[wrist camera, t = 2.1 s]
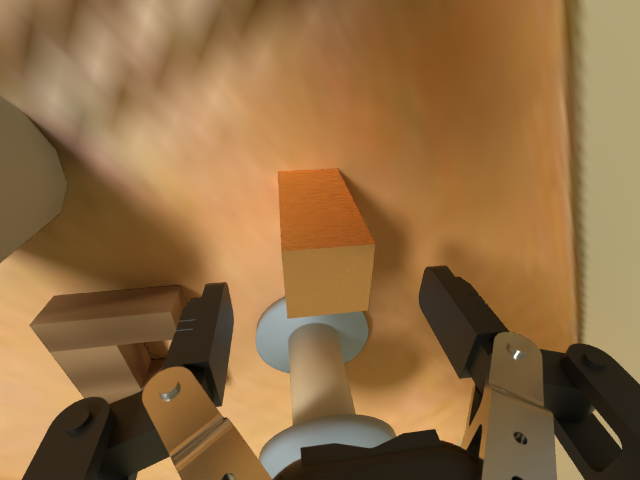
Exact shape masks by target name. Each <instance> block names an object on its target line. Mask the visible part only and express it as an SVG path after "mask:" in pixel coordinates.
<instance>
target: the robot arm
mask: <svg viewBox="0 0 640 480" xmlns="http://www.w3.org/2000/svg"><path fill="white" fill-rule="evenodd" d="M419 304H420V308H421V310H422V312H423V314H424V316H425V317H426V319H427V321H428V323H429V325H430V326H431V328H432V330H433V332H434V334H435V335H436V337H437V339H438V341H439V343H440V344H441V346H442V348H443V350H444V352H445V353H446V355H447V357H448V359H449V361H450V362H451V364H452V366H453V368H454V370H455V371H456V373H457V375H458V377H459V379H461V378H470V377H472V379H473V381H474V382H475V383H474V386H473V389H472V394H471V400H470V406H469V412H468V417H467V423H466V429H465V434H464V437H463V441H462V444H461V447H459V446H457V445H454V444H452V443H449V442H445V441H441V440H439V437H438V435H437V433H436V430H435V429H433V430H425V431H418V432H411V433H403V434H401V435H399V436H397V437H395V438H393V439H391V440H389V441H386V442H384V443H382V444H380V445H378V446H376V447H373V448H365V447H359V446H352V445H345V444H338V443H331V444H323V445H316V446H309V447H302V448H300V450H301V458H300V459H298V460H296V461H294V462H292V463H291V464H289V465H288V466H286V467H285V468H284V469H283V470H281V471H280V472H279V473H278V474H277V475H276V476H275V477H274V478H273V479H272V478H271V476H270V475H269V474H268V472H267V471H266V469H265V468H264V467H263V465H262V464H261V462H260V461H259V460H258V458H257V457H256V456H255V454H254V453H253V451H252V450H251V449H250V447H249V446H248V444H247V443H246V442H245V440H244V439H243V437H242V436H241V435H240V433H239V432H238V430H237V429H236V428H235V426H234V425H233V424H232V422H231V421H230V420H229V419H228V418H227V417H225V418H224V417H223V416H222V415H221V414H220V412H219V411H218V409H217V408H216V407H219V406H222V403H223V396H224V389H225V382H226V375H227V368H228V361H229V354H230V347H231V340H232V333H233V325H234V316H233V309H232V304H231V299H230V294H229V289H228V285H227V283H226V282H223V283H210V284H206V285H205V288H204V292H203V295H202V298H192V299H191V300H190V302H189V303H188V304H187V305H186V306H185V307H184V308H183V310H182V313H181V316H180V319H179V323H178V325H177V328H176V332H175V334H174V337H173V340H172V343H171V346H170V348H169V351H168V354H167V357H166V360H165V363H164V366H163V369H162V371H161V372H159V373H158V374H156V375H155V376H154V377H153V378H151V380H150V381H149V382H148V383H147V385H146V386H145V388H144V389H143V390H141V391H140V392H138V393H135V394H133V395H131V396H128V397H125V398H123V399H120V400H118V401H115V402H112V403H110V404H108V402H107V401H106V400H105V399H103V398H101V397H88V398H84V399H82V400H79V401H77V402H75V403H73V404H72V405H70V406H69V407H67V408H66V409H64V410H63V411H62V412H61V413H60V414H59V415H58V416H57V417H56V418H55V420H54V421H53V422H52V424H51V425H50V427H49V429H48V431H47V433H46V435H45V436H44V438H43V440H42V442H41V444H40V446H39V448H38V450H37V452H36V454H35V455H34V457H33V459H32V461H31V463H30V465H29V467H28V469H27V471H26V473H25V475H24V476H23V478H22V480H136V477H137V473H138V471H140V470H142V469H145V468H147V467H149V466H151V465H153V464H155V463H157V462H159V461H161V460H163V459H166V458H168V457H171V459H172V461H173V464H174V466H175V468H176V470H177V472H178V473H179V475H180V477H181V479H182V480H557V474H556V455H555V437H554V434H555V435H556V437H557V438H558V440H559V442H560V443H561V445H562V446H563V448H564V449H565V451H566V452H567V453H568V455H569V457H570V458H571V460H572V461H573V462H574V464H575V466H576V467H577V469H578V470H579V472H580V473H581V475H582V476H583V478H584V479H585V480H640V384H639V383H638V382H637V381H635V379H634V378H633V377H631V375H630V374H628V372H627V371H625V370H624V368H623V367H621V366H620V365H619V364H618V363H617V362H616V361H615V360H614V359H613V358H612V357H611V356H609V355H608V354H607V353H605V352H604V351H602V350H600V349H598V348H596V347H593V346H590V345H586V344H573V345H571V346H569V348H568V349H567V351H566V353H560V352H554V351H548V350H542V349H539V348H538V347H537V346H536V345H535V344H534V343H533V342H532V341H530V340H529V339H527V338H526V337H524V336H522V335H519V334H516V333H512V332H509V331H508V329H507V328H506V327H505V326H504V325H503V323H502V322H501V321H500V320H499V318H498V317H497V316H496V315H495V314H494V312H493V311H492V310H491V309H490V307H489V306H488V305H487V304H485V301H484V300H483V299H482V298H481V296H479V295H478V293H477V292H476V290H475V289H474V288H473V287H472V285H471V284H469V283H468V282H466V281H465V280H463V279H462V278H460V277H455V276H454V275H453V273H452V272H451V271H450V270H449V268H448V267H447V266H433V267H426V269H425V271H424V275H423V279H422V284H421V288H420V292H419ZM595 409H596V410H597V411H598V412H599V414H600V415H601V416H602V417H603V419H604V420H605V421H606V422H607V423H608V424H609V426H610V427H611V428H612V429H613V431H614V432H615V433H616V434H617V436H618V437H619V439H620V441H621V444H622V449H621V448H620V447H619V445H618V444H617V443H616V442H615V440H614V439H613V438H612V437H611V435H610V434H609V433H608V432H607V431H606V429H605V428H604V427H603V425H602V424H601V423H600V422H599V421H598V419H597V418H596V417H595V415H594V414H593V413H592V412H593V411H594V410H595Z"/></svg>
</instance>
